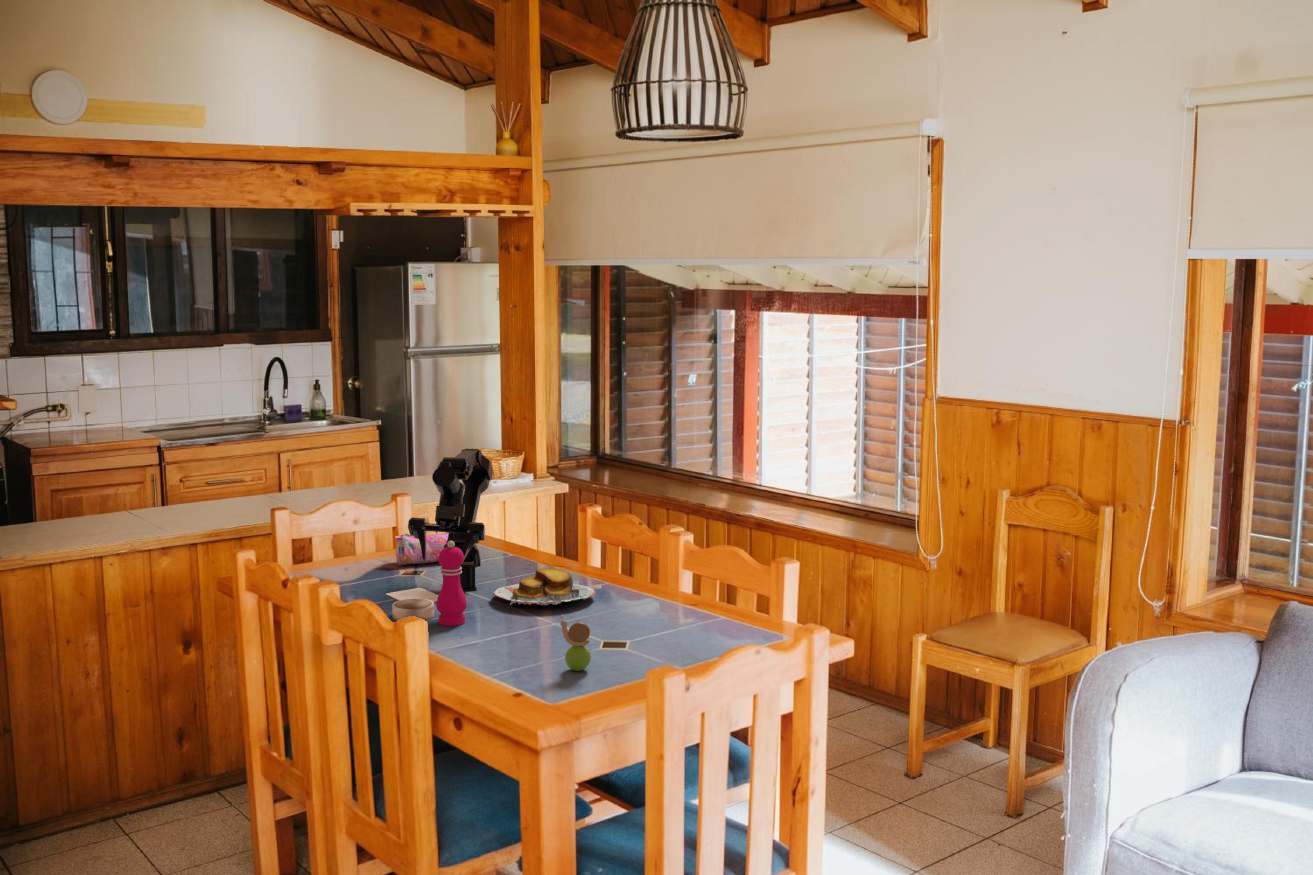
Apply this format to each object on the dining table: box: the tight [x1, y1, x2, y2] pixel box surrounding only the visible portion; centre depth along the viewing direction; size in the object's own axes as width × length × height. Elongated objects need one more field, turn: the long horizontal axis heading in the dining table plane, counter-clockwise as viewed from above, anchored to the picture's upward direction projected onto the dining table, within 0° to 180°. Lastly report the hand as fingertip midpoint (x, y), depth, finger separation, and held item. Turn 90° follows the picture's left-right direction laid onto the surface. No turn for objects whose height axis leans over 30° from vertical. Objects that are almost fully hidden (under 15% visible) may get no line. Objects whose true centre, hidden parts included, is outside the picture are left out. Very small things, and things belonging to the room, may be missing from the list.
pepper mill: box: [435, 541, 468, 627], centre depth 280 cm, size 7×7×20 cm
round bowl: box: [391, 599, 435, 621], centre depth 286 cm, size 10×10×3 cm
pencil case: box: [394, 532, 449, 566], centre depth 340 cm, size 21×9×9 cm, turn 116°
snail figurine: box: [560, 614, 592, 672], centre depth 248 cm, size 5×6×12 cm
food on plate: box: [492, 567, 596, 606], centre depth 302 cm, size 26×26×7 cm
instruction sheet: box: [385, 587, 439, 603], centre depth 303 cm, size 10×14×1 cm
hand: (442, 561), depth 290 cm, fingers open, 9 cm apart
